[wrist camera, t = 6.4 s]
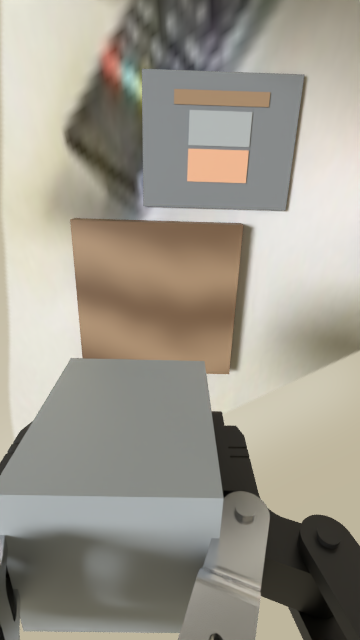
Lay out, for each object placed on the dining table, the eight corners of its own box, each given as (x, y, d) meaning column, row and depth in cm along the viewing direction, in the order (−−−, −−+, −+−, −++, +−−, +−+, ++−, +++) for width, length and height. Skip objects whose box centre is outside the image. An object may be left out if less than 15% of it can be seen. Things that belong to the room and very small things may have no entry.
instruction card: (142, 70, 21) (141, 68, 21) (302, 76, 21) (304, 74, 21) (143, 205, 24) (143, 206, 24) (284, 210, 24) (285, 210, 24)
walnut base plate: (74, 218, 25) (70, 219, 24) (240, 223, 25) (243, 224, 24) (86, 364, 29) (83, 370, 28) (227, 368, 29) (228, 374, 28)
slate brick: (71, 358, 13) (-12, 494, 7) (204, 361, 13) (223, 498, 7) (82, 460, 15) (23, 630, 9) (198, 462, 15) (210, 633, 9)
